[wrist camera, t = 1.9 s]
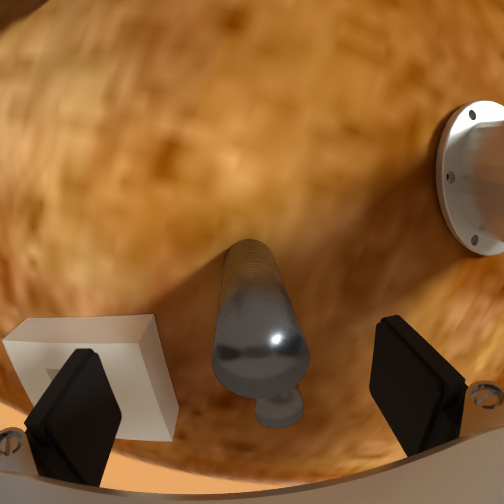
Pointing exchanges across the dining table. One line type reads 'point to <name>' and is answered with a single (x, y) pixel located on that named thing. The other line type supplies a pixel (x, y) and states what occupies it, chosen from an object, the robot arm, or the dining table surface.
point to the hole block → (114, 363)
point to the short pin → (280, 409)
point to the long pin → (256, 326)
